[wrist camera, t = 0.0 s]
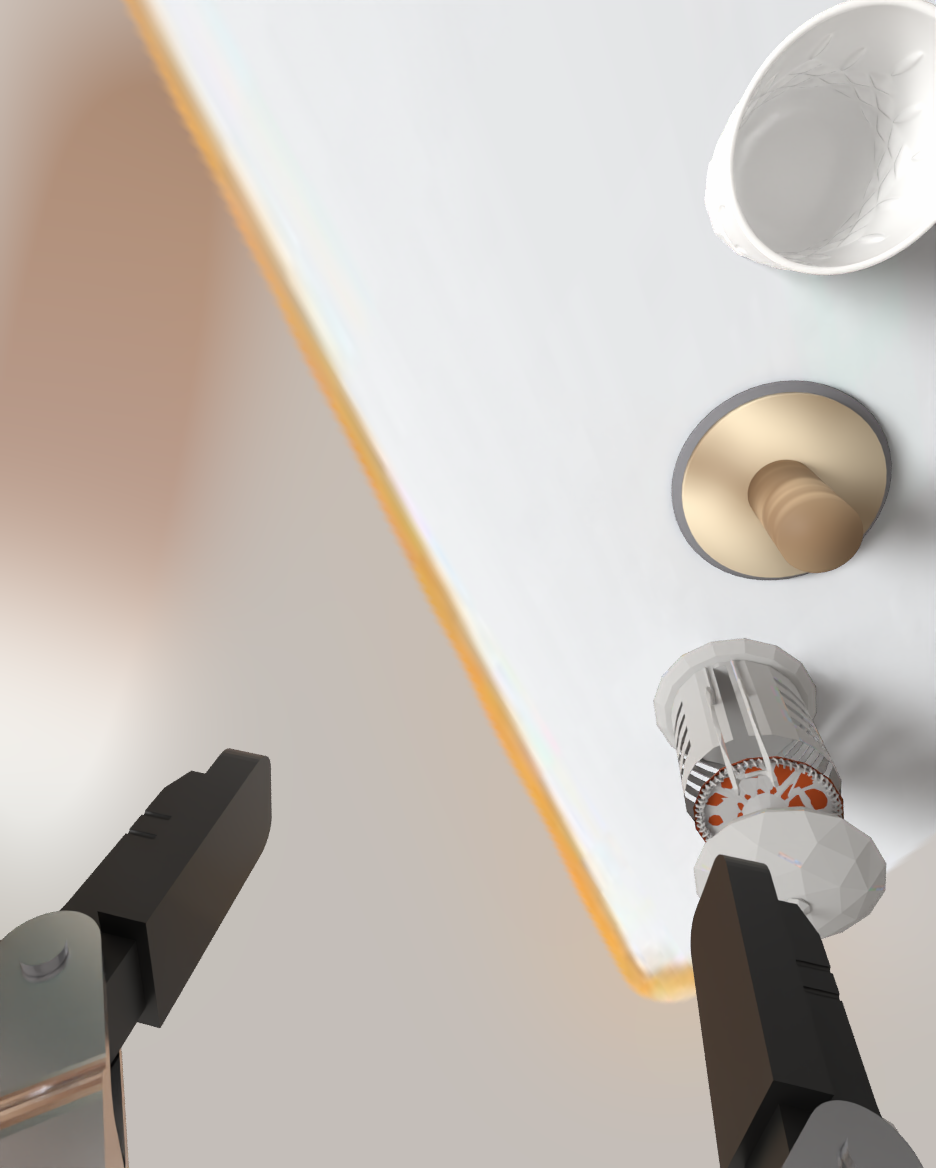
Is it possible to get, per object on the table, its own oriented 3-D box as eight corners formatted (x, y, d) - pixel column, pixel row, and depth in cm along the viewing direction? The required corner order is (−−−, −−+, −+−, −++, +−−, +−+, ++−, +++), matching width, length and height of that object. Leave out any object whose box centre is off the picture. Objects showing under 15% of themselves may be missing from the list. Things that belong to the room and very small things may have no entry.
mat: (699, 366, 35) (701, 367, 35) (922, 396, 34) (926, 398, 34) (651, 559, 40) (652, 562, 40) (846, 592, 39) (848, 595, 38)
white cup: (914, 159, 30) (1046, 111, 21) (774, 309, 34) (838, 322, 25) (786, 33, 29) (868, -73, 20) (655, 201, 33) (676, 174, 24)
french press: (679, 782, 46) (756, 1262, 24) (623, 639, 42) (650, 1048, 20) (833, 749, 43) (1089, 1264, 21) (787, 592, 39) (1036, 1011, 17)
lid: (708, 378, 35) (735, 405, 28) (911, 407, 34) (992, 441, 27) (662, 556, 39) (676, 616, 32) (842, 585, 38) (896, 655, 31)
